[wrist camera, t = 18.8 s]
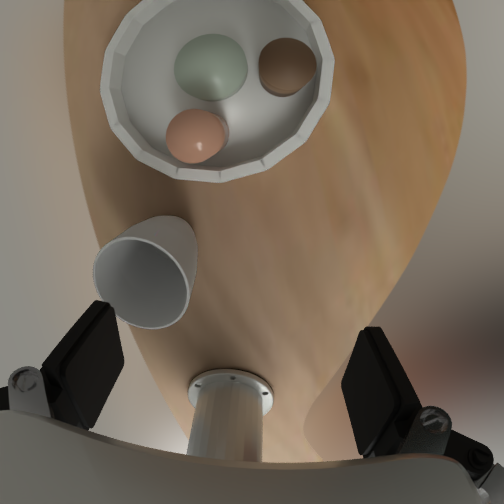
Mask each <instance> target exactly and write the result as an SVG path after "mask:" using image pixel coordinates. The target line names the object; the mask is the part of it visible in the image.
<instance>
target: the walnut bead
mask: <svg viewBox="0 0 504 504" xmlns="http://www.w3.org/2000/svg"><path fill="white" fill-rule="evenodd" d="M316 67H317V63H316V58H315V55H314V53H313V51H312V50H311V49H310V48H309V47H308V46H307V45H306V44H305V43H303V42H302V41H299V40H297V39H293V38H279V39H275V40H273V41H271V42H269V43H268V44H267V45H266V46H265V47H264V48H263V49H262V51H261V53H260V56H259V80H260V83H261V85H262V87H263V88H264V89H265V90H266V91H267V92H268V93H270V94H272V95H274V96H277V97H288V96H292V95H294V94H295V93H297V92H298V91H299V90H300V89H301V88H303V87H304V86H305V85H306V84H307V83H308V82H309V81H310V80H311V79H312V78H313V76H314V74H315V72H316Z"/></svg>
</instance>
